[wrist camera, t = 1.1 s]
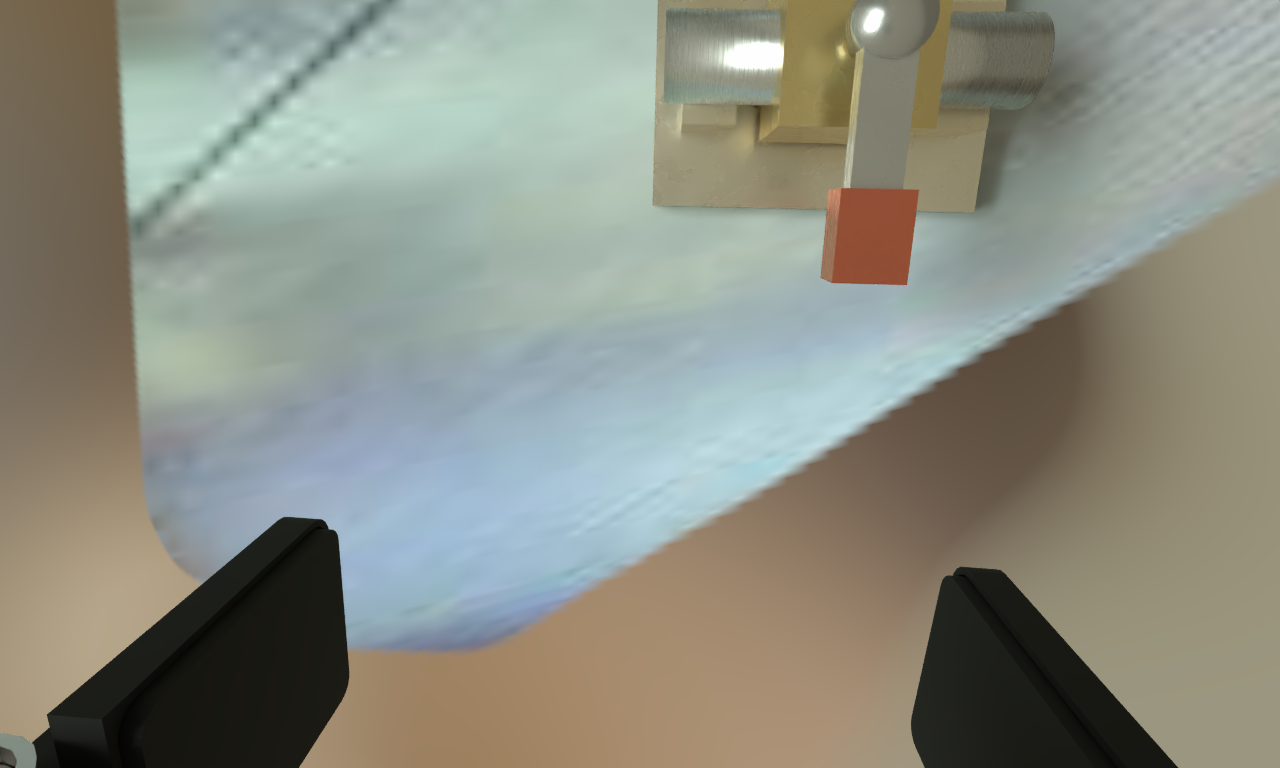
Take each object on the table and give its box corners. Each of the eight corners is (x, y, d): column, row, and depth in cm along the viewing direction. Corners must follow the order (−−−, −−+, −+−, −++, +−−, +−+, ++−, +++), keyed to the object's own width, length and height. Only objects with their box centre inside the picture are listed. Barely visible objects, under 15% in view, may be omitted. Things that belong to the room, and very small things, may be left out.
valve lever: (848, -17, 22) (863, -37, 20) (926, -16, 22) (948, -36, 20) (820, 277, 24) (831, 282, 23) (890, 279, 24) (906, 285, 23)
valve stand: (660, -54, 31) (654, -182, 21) (999, -51, 30) (1163, -183, 20) (653, 205, 34) (645, 202, 24) (961, 212, 34) (1086, 212, 23)
